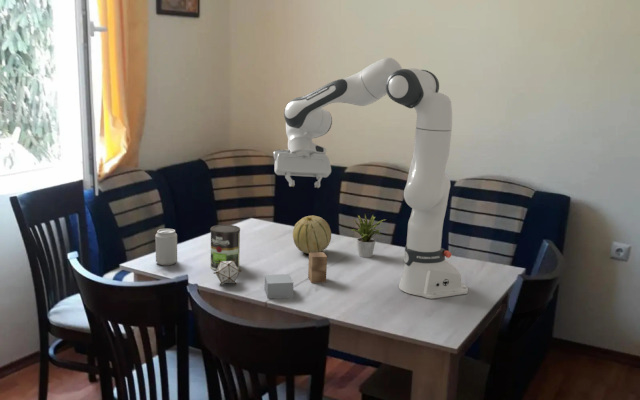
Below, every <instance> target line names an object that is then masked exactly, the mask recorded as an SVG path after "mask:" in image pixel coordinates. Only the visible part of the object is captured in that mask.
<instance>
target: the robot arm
mask: <svg viewBox="0 0 640 400" xmlns="http://www.w3.org/2000/svg"><path fill="white" fill-rule="evenodd" d="M439 90H440V82H439V80H438V77H437V76H436V75H435V74H434V73H433V72H431V71H429V70H427V69H419V68H402V65H401V64H400V63H399V62H398V61H397V60H396V59H395V58H392V57H384V58H382V59H379V60H377V61H374V62H373V63H371V64H369V65H368V66H366V67H364V68H363V69H362V70H359V72H356V73H354V74H352V75H350V76H347V77H343V78H340V79H337V80H333V81H331V82H329V83H327V84H325V85H322V87H319V88H317V89H315V90H313V91H312V92H310V93H308V94H306V95H304V96H299V97H296V98H293V99H291V100H290V101H289V102H288V103H287V104H286V106H285V107H284V112H283V117H284V121H285V133H286V136H287V149H279V148H277V149H276V150H274V151H273V153H272V154H273V159H274V173H275V174H276V175H277V176H284V178H285V179H286V181H287V182H288V186H289V187H293V188H294V187H295V185H296V184H295V180H294V179H293V178H292V176H295V177H309V178H310V177H312V178H316V180H317V181H315V182H314V188H317V189H319V188H320V187H321V181H322V179H323V178H328V177H329V176H330V175H331V173H332V166H331V162H330V158H329V156H328V155H327V148H325V146H321V145H318V144H316V143H314V142H313V139H316V138H319V137H323V136H325V135H326V134H328V133H329V131H330V130H331V128H332V125H333V117H332V114H331V113H330V111H328V110H327V109H324V107H326V106H328V105H331V104H335V103H336V104H337V103H341V104H349V105H354V106H359V107H364V106H369V105H371V104H374V103H375V102H377V101H379V100H380V99H382V98H383V97H385V96H388V98H390V99H391V100H392V101H393V102H394V103H397V104H399V105H402V106H404V107H406V108H408V109H414V110H415V113H416V122H415V123H416V124H415V131H414V133H415V135H414V144H413V151H412V152H413V154H412V159H411V162H410V166H409V170H408V174H407V178H406V179H407V181H406V184H405V187H404V190H403V199H404V202H405V203H406V204H407V205H408V206H409V207H410V208H411V213H410V217H409V219H408V223H407V234H406V235H407V236H406V245H405V247H404V254H403V261H404V264H403V265H404V266H403V271H402V274H401V279H400V282H399V284H398V289H400V290H401V291H402V292H405V293H406V294H410V295H414V296H419V297H423V298H426V299H432V300H433V299H439V298H446V297H451V296H452V297H453V296H454V297H455V296H460V295H465V294H468V293H469V289H468V286H466V284H465V283H463V282H462V275H461V273H460V270H458V269H457V268H456V267H455V266H454V265H453V264H452V263H451V262H449V261H448V260H447V259H450V258H451V257H452V253H451V251H450V250H446V249H445V248H443V247H442V239H443V227H444V220H445V216H446V211H447V207H448V200H449V194H450V189H451V180H450V177H449V176H448V175H447V174H446V173H445V170H446V166H447V162H448V159H449V156H450V148H451V140H452V139H451V138H452V127H453V108H452V106H453V105H452V101H451V98H450V97H449V96H447V95H446V94H444V93H441V92H439ZM446 258H447V259H446Z"/></svg>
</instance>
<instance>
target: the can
mask: <svg viewBox="0 0 640 400" xmlns="http://www.w3.org/2000/svg"><path fill="white" fill-rule="evenodd" d="M155 262H156V263H157V264H158V265H160V266H172V265H175V264H176V262H178V234H177V233H176V229H173V228H160V229H158V230H157V232H156V234H155Z"/></svg>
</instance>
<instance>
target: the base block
mask: <svg viewBox="0 0 640 400" xmlns="http://www.w3.org/2000/svg"><path fill="white" fill-rule="evenodd" d="M263 284H264V285H263V286H264V290H263V291H264V292H265V295H266V298H267V299H280V298H281V299H284V298H286V299H287V298H294V281H293V279H292V276H291V275H290V273H284V274H282V273H281V274H280V273H279V274H264V283H263Z"/></svg>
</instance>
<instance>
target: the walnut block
mask: <svg viewBox="0 0 640 400" xmlns="http://www.w3.org/2000/svg"><path fill="white" fill-rule="evenodd" d="M327 267H328V256H327V255H326V252H324V251H322V252H314V253H309V254H308V268H307V269H308V270H307V271H308V274H307V275H308V276H307V279H308V278H309V279H308V280H309V281H310V283H311V284H317V283H318V284H319V283H327Z"/></svg>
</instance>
